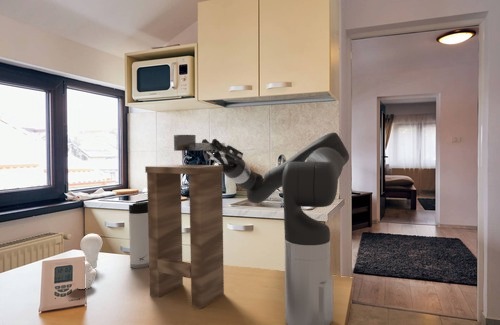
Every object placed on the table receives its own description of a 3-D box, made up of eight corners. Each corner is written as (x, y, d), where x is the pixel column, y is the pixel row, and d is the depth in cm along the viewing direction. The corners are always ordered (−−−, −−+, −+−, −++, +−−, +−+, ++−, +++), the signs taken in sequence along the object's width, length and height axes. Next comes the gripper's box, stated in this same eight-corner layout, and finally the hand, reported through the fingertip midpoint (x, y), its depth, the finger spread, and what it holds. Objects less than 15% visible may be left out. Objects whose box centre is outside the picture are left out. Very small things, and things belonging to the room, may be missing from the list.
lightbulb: (107, 268, 106) (106, 232, 106) (89, 274, 101) (87, 237, 101) (95, 265, 109) (94, 230, 109) (76, 271, 104) (75, 234, 104)
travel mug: (146, 268, 105) (144, 203, 105) (126, 267, 107) (124, 202, 106) (155, 262, 112) (154, 200, 111) (136, 261, 113) (135, 199, 112)
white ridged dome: (99, 282, 95) (99, 257, 95) (92, 291, 89) (91, 264, 89) (76, 283, 94) (75, 258, 94) (66, 293, 88) (66, 265, 88)
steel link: (228, 149, 105) (228, 136, 105) (186, 150, 88) (186, 134, 88) (213, 149, 108) (212, 136, 108) (169, 150, 90) (169, 135, 90)
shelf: (224, 293, 87) (223, 165, 86) (200, 309, 78) (198, 167, 77) (175, 282, 95) (173, 164, 93) (148, 295, 86) (145, 166, 85)
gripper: (220, 158, 119) (192, 131, 105) (256, 158, 112) (232, 129, 99) (214, 178, 116) (185, 152, 102) (251, 179, 109) (225, 152, 96)
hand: (208, 141), depth 101 cm, fingers closed on steel link, 3 cm apart
